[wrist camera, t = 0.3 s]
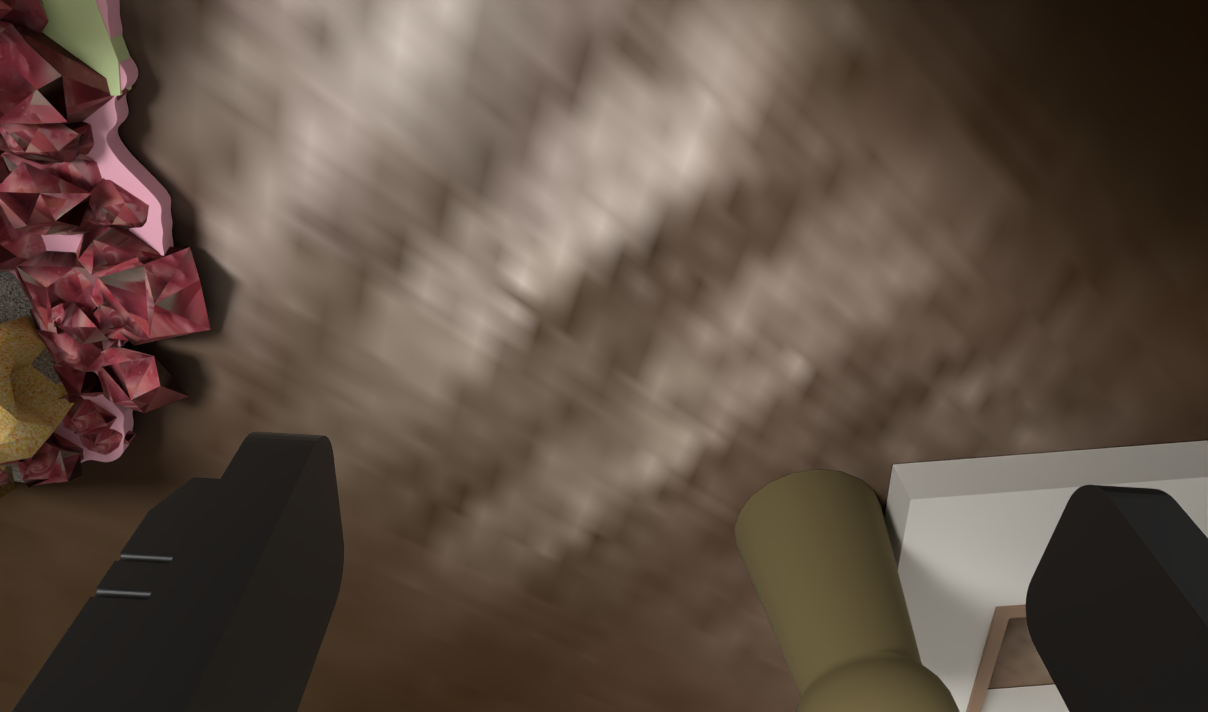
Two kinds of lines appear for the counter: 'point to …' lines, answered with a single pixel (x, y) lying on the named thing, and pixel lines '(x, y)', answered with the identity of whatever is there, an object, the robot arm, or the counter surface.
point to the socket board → (1005, 548)
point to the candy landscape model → (78, 247)
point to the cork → (835, 596)
